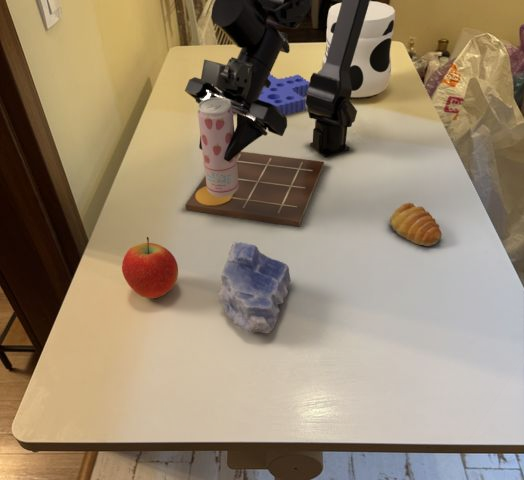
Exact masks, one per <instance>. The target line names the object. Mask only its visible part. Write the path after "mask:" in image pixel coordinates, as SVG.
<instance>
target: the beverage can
mask: <svg viewBox="0 0 524 480" xmlns="http://www.w3.org/2000/svg"><path fill="white" fill-rule="evenodd" d="M197 118H198V126H199V127H198V128H199V136H200V135H201V144H202V150H201V151H202V158H203V159H202V160H203V167H204V177H205V176H206V184H207V190H208V192H209V193H211V194H212V195H214V196H217V197H226V196H230V195H232V194H234V193H235V192H236V191H237V190H238V187H239V184H238V171H237V158H236V156H235V157H234V158H232V159H231V160H230V161H229V162H228V161H226V160H224V156H225V153H226V150H227V148H228V145H229V143H230V141H231V138H232V136H233V134H234V132H235V121H234V113H233V109H232V107H231V103H230V101H229V100H227V99H225V98H218V97H216V98H208V99H205V100H203V101H201V102H200V103H199V104H197Z"/></svg>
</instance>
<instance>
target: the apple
mask: <svg viewBox="0 0 524 480" xmlns="http://www.w3.org/2000/svg"><path fill="white" fill-rule="evenodd" d="M149 240H150V238H149V236H147V237H146V241H147V242H142V243H138V244H137V243H136V245H133V246H132V247H130V248H129V249H128V250H127V252H126V253H125V255H124V256H123V260H122V263H121V272H122V275H123V277H124V279H125V281H126V283H127V284H128V286H129V287H130V288H131V289H132V290H133V291H134V292H135V293H136V294H138V295H139V296H141V297H143V298H145V299H156V298H157V299H158V298H160V297H162V296H164V295H166V294H167V293H168V292H169V291H171V290H172V288H173V287H174V286H175V284H176V282H177V280H178V278H179V277H178V276H179V266H178V262H177V259H176V257H175V256H174V254H172V253H171V251H170V250H169V249H167V248H166V247H164V246H162V245H161V244H158V243H153V242H150V241H149Z"/></svg>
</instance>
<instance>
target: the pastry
mask: <svg viewBox="0 0 524 480" xmlns="http://www.w3.org/2000/svg"><path fill="white" fill-rule="evenodd" d="M389 223H390V226H391V227H392V230H393V231H395V232H396V233H397V234H398V235H399V236H401V237H402V238H405V239H406V240H407V241H410V242H411V243H413V244H415V245H421V246H425V247H429V246H430V247H431V246H433V245H435V244H437V243H438V242H439V241H440V239H442V235H443V234H442V230H441V228H440V224H438V223H437V221H436V219H435V218H434V217H433V216H432V214H431V213H430V212H429V211H426V209H425V208H424V207H423V206H416V205H415V204H414V203H412V202H407V203H403V204H401V205H400V206H399V207H398V208H396V209H395V210H394V212H393V213H392V215H391V216H390V219H389Z"/></svg>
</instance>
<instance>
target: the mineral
mask: <svg viewBox="0 0 524 480" xmlns="http://www.w3.org/2000/svg"><path fill="white" fill-rule="evenodd" d="M220 279H221V280H220V281H221V286H220V291H219V292H218V293H217V294H218V295H217V297H218V299H219V302H220V303H221V304H222V306H223V307H224V313H225V315H226V316H227V317H229V319H230V320H232V321H233V323H234V325H237V326H238V327H240V328H241V329H243V330H244V331H245V332H246V333H255V332H258V333H262V334H269V333H270V332H272V330H274V327H275V325H276V323H277V322H278V319H279V314H280V309H279V306H278V305H279V304H280V305H281V304H283V303H284V298H286V297H287V296H288V293H289V291H288V289H287V288H288V285H289V284H290V283H291V281H292V280H291V279H292V278H291V275H290V267H289V265H288V264H287V263H285V262H283V261H280V260H278V259H274V258H272V257H269V256H267V255H266V254H264V253H262V252H261V251H260V250H259V247H258V246H257V245H256V244H251V243H247V242H246V243H245V242H241V241H240V242H232V245H231V246H230V249H229V251H228V256H227V257H226V260H225V263H224V265H223V267H222V271H221V274H220Z"/></svg>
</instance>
